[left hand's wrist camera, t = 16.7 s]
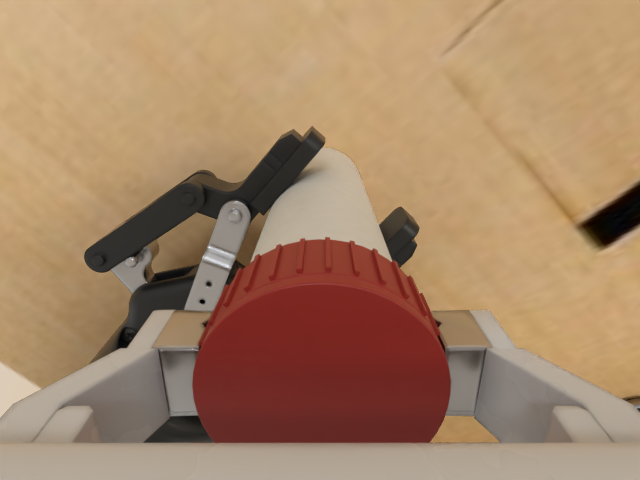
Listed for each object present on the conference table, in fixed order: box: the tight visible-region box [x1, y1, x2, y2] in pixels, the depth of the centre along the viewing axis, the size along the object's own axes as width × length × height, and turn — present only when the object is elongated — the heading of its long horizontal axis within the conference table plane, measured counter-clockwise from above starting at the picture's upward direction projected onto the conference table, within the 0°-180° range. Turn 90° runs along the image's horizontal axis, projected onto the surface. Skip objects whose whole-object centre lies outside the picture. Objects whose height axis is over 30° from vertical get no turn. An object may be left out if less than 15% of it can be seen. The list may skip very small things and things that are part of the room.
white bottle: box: [250, 147, 392, 263], centre depth 16 cm, size 4×4×16 cm
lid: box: [192, 237, 451, 443], centre depth 9 cm, size 5×5×2 cm
